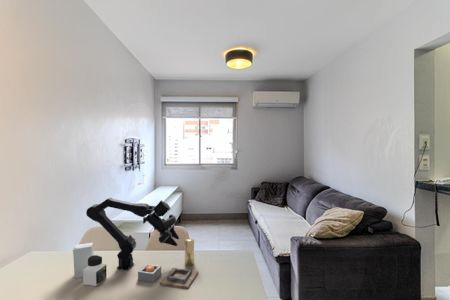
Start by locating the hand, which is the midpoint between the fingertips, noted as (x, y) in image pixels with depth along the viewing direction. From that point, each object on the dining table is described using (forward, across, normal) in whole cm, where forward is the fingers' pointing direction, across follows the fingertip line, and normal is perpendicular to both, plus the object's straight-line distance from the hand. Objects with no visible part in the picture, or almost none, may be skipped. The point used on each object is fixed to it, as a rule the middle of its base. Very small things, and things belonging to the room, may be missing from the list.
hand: (177, 242), depth 135 cm
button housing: (0, -12, +18) cm, 21 cm away
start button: (-1, -12, +16) cm, 20 cm away
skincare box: (-24, -6, +41) cm, 48 cm away
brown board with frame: (+10, -14, +7) cm, 19 cm away
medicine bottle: (-18, -13, +35) cm, 42 cm away
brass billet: (+13, 0, +4) cm, 14 cm away
